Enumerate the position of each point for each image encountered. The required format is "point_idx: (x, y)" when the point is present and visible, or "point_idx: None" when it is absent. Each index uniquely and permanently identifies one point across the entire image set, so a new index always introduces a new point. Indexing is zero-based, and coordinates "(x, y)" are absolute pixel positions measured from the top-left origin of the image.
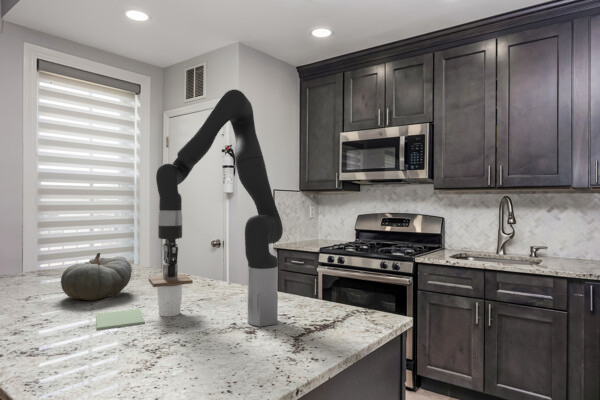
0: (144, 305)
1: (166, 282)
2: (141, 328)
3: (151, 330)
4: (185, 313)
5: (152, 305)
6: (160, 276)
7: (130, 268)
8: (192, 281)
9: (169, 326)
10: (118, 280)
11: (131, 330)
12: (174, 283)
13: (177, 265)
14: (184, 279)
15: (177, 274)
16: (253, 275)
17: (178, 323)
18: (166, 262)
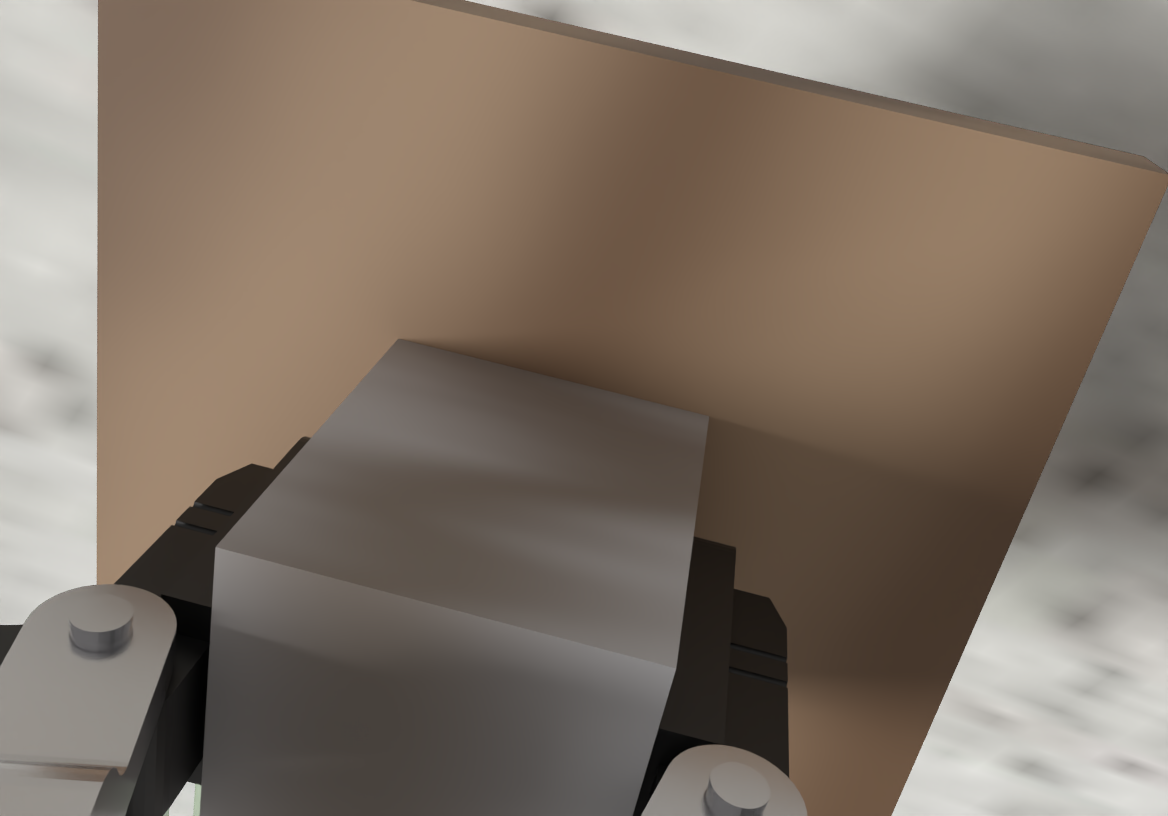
0: (11, 345)
1: (888, 738)
2: (964, 716)
3: (1122, 678)
4: (754, 65)
5: (57, 265)
6: (103, 535)
7: None
8: (1155, 169)
9: (1158, 488)
10: None
11: (949, 798)
12: (978, 590)
13: (679, 641)
14: (859, 291)
15: (698, 477)
16: None
17: (1138, 356)
18: (166, 797)
